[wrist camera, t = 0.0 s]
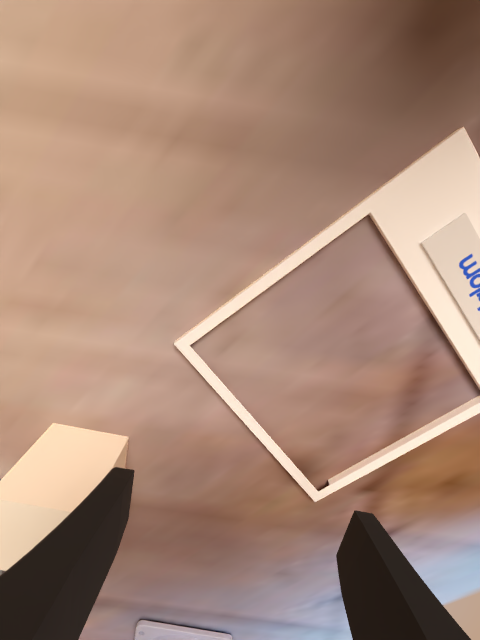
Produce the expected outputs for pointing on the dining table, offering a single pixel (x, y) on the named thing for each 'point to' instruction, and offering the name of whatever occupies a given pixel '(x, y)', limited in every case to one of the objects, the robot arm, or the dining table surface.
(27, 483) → the cream block
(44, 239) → the dining table surface
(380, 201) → the photo frame
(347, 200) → the dining table surface
